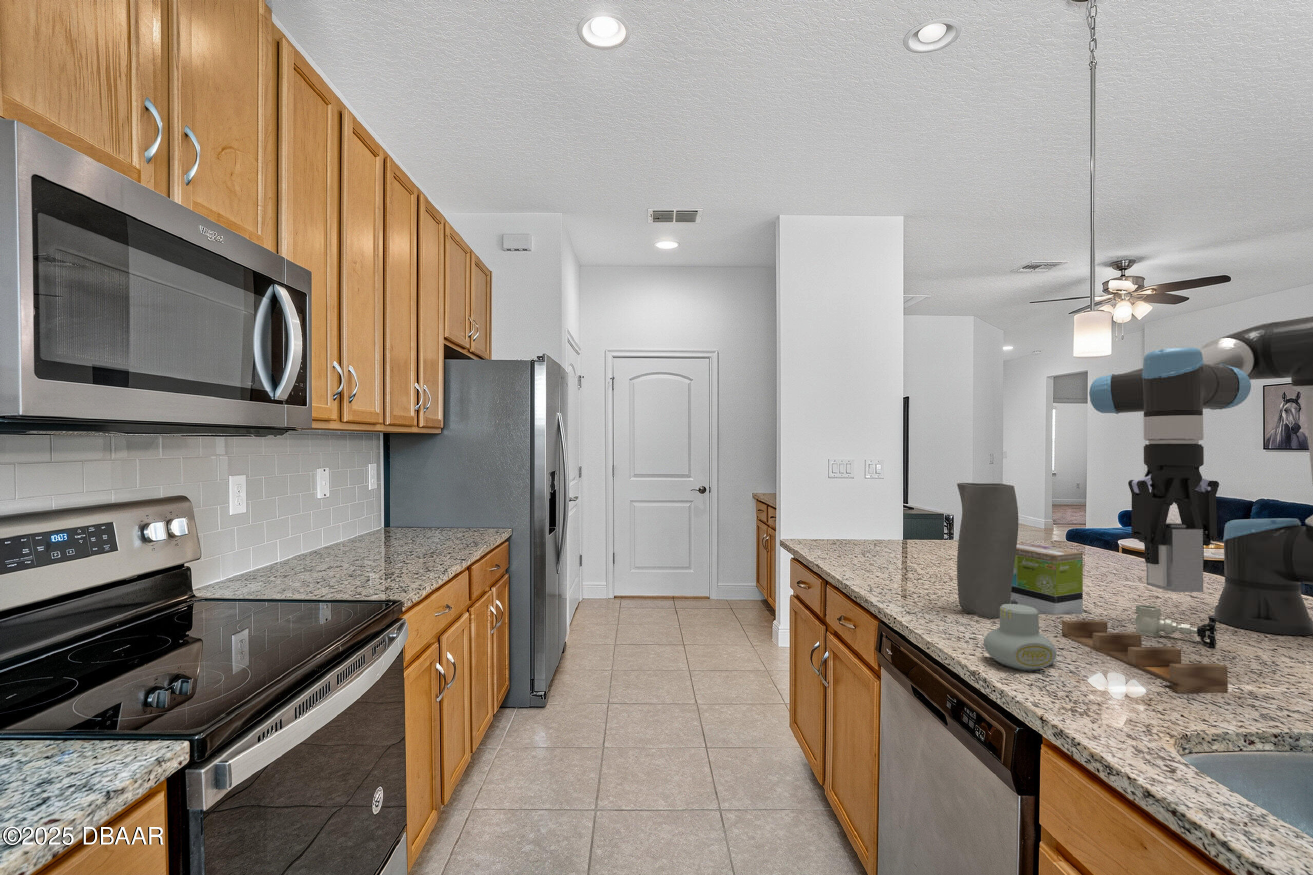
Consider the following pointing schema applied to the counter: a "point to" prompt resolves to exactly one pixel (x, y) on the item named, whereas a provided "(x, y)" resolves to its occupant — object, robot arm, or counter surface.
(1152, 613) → the valve
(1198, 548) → the block
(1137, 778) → the counter surface
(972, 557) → the vase
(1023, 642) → the air freshener
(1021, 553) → the tea box
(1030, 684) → the counter surface
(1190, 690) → the wooden compartment tray
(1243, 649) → the counter surface
